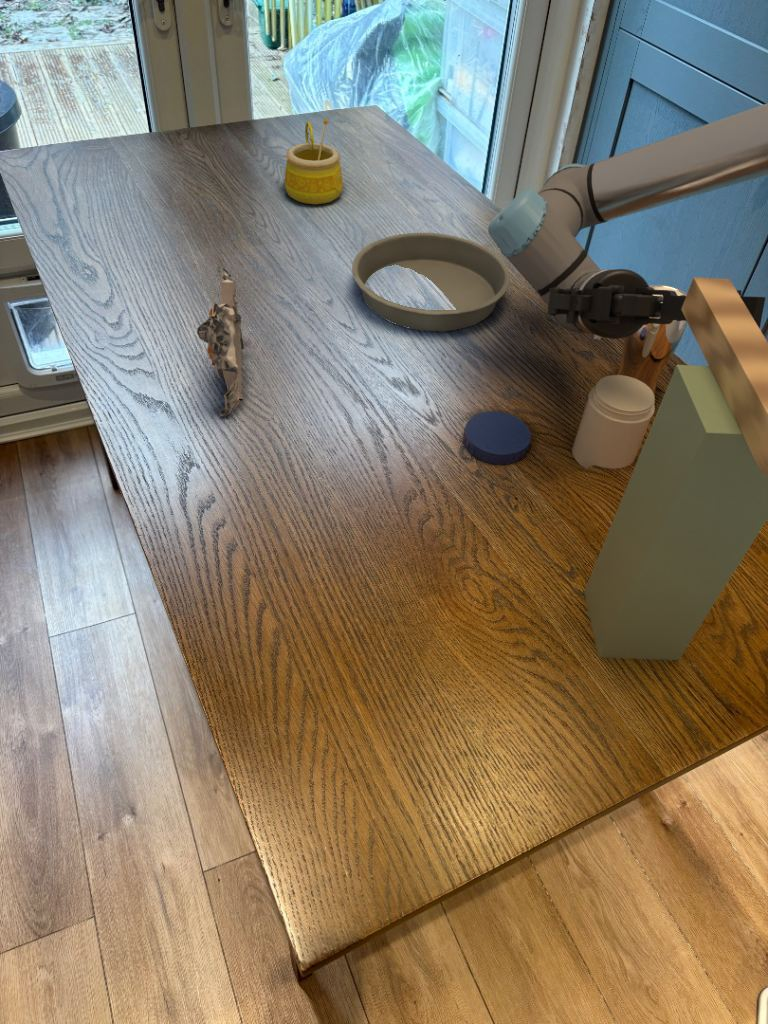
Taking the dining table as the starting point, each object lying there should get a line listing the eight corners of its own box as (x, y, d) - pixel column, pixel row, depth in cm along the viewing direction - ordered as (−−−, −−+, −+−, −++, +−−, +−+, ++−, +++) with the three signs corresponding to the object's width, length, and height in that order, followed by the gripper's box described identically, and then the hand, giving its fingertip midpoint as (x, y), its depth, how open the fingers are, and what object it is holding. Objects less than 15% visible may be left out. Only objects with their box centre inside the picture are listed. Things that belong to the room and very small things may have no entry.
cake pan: (390, 243, 131) (392, 218, 127) (525, 280, 124) (530, 255, 121) (323, 310, 115) (323, 283, 112) (473, 356, 109) (478, 329, 105)
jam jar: (646, 464, 95) (672, 402, 87) (599, 483, 92) (622, 421, 84) (605, 428, 99) (627, 366, 92) (559, 445, 96) (578, 382, 89)
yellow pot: (329, 213, 137) (329, 145, 128) (275, 201, 139) (271, 133, 131) (355, 186, 146) (357, 121, 137) (304, 175, 148) (303, 110, 139)
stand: (580, 598, 79) (676, 364, 57) (655, 601, 80) (778, 369, 58) (594, 664, 74) (706, 432, 52) (674, 667, 74) (819, 437, 52)
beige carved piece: (214, 351, 106) (202, 266, 96) (244, 351, 106) (236, 266, 97) (209, 420, 96) (196, 332, 86) (243, 419, 96) (233, 331, 87)
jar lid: (467, 416, 99) (469, 406, 98) (530, 427, 98) (533, 417, 97) (459, 458, 93) (460, 447, 92) (526, 470, 93) (528, 459, 91)
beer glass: (636, 374, 108) (670, 279, 97) (666, 403, 103) (706, 307, 92) (596, 384, 105) (626, 288, 95) (626, 414, 101) (661, 317, 90)
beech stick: (680, 309, 63) (693, 276, 61) (715, 311, 63) (729, 278, 61) (761, 473, 49) (781, 439, 47) (806, 475, 49) (828, 441, 47)
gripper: (710, 342, 88) (812, 359, 68) (498, 331, 87) (537, 345, 67) (721, 275, 86) (830, 271, 65) (505, 263, 85) (547, 256, 65)
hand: (682, 308), depth 66 cm, fingers open, 13 cm apart
